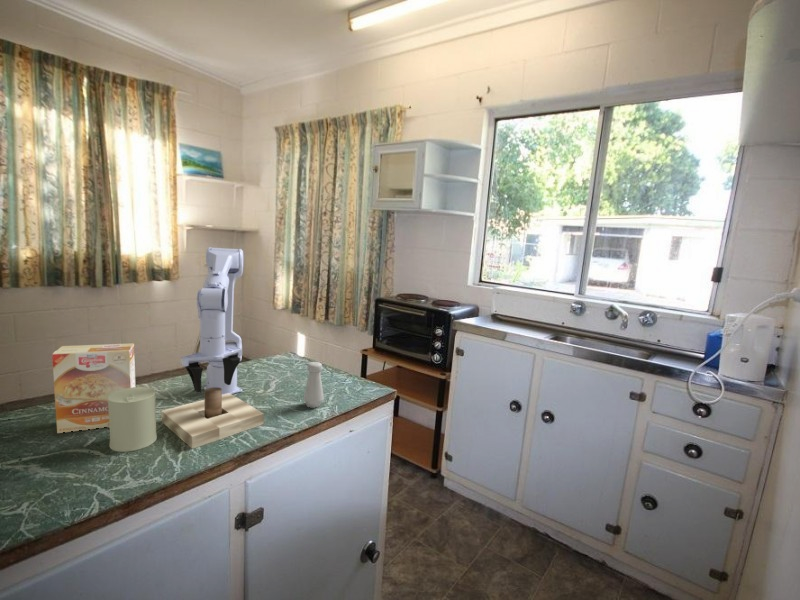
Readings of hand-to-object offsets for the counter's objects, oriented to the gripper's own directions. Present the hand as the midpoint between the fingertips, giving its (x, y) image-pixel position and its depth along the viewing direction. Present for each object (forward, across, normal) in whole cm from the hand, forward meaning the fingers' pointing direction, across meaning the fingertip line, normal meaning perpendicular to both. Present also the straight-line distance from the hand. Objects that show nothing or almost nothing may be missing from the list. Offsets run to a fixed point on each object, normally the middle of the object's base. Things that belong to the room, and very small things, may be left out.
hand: (213, 387), depth 103 cm
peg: (+10, 0, 0) cm, 10 cm away
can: (+10, -17, +3) cm, 20 cm away
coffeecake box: (+10, -20, +18) cm, 29 cm away
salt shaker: (+10, +26, -8) cm, 29 cm away
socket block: (+10, 0, 0) cm, 10 cm away
